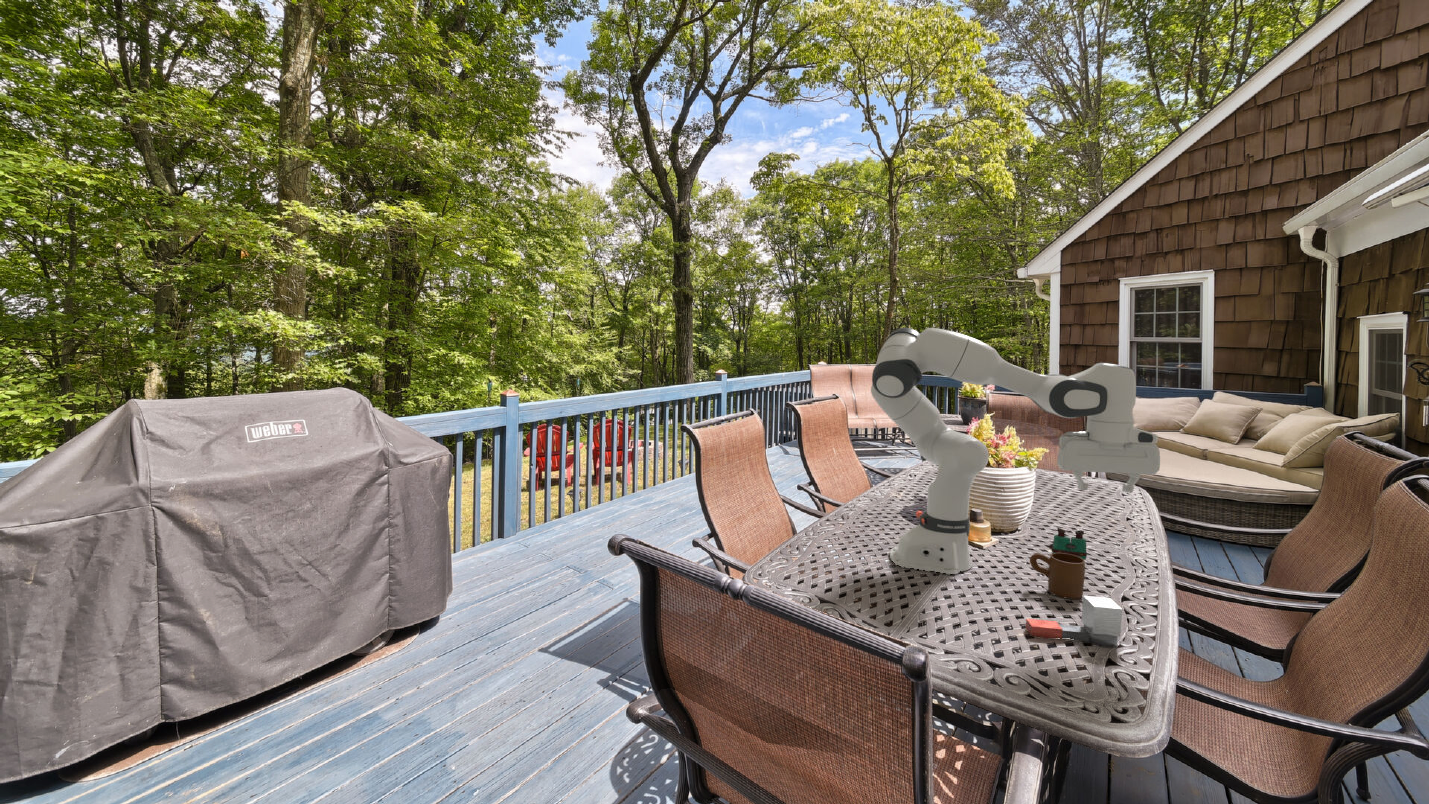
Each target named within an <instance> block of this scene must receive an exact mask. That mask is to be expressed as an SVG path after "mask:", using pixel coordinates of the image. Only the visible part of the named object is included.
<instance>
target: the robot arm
mask: <svg viewBox="0 0 1429 804" xmlns="http://www.w3.org/2000/svg"><path fill="white" fill-rule="evenodd" d="M926 372H933V373H936V374H939V375H942V376H945V377H947V378H950V379H952V380H956V381H958V382H962V383H967V384H969V385H976V386H983V385H990V386H998V387H1001V388H1003V389H1006V390H1009V391H1012V392H1014V393H1017V394H1019V395H1022V396H1024V397H1027V398H1029V399H1030V400H1031V401H1032V402H1033V403H1034V404H1035V405H1036V406H1037V407H1038V408H1040V409H1041V410H1042V411H1044V412H1046V413H1048V414H1053V415H1055V416H1058V417H1062V418H1066V419H1076V418H1083V417H1087V419H1086V420H1087V421H1086V431H1066V433H1063V434H1061V435H1060V436H1059V438H1058V446H1059V449H1058V454H1057V459H1056V465H1057V467H1058V468H1059V469H1061V470H1062V471H1065V472H1067V471H1068V472H1072V474H1073V476H1074V478H1075V481H1077V490H1080V491H1087V490H1089V488H1088V486H1089V483H1088V482H1086V481H1085V480H1083V478H1082V477H1083V476H1084V474H1085V472H1086V473H1088V472H1089V473H1111V474H1128V477H1129V479H1128V480H1127V481H1126V483H1124V482H1123V483H1122V487H1121V490H1122V492H1124V493H1133V492H1134V486H1135V485H1136V484H1137V483H1138V482H1139V480H1140V479H1141V475H1156V474H1157V473H1158V472H1159V471H1160V467H1161V455H1160V448H1159V447H1158V445H1157V443H1158V442H1159V436H1158V435H1157V434H1155V433H1153V432H1151V431H1150V432H1149V431H1147V430H1143V429H1142V428H1139V427H1135V426H1134V424H1135V423H1134V422H1135V420H1134V419H1135V418H1134V415H1133V411H1134V407H1135V404H1136V401H1137V399H1136V397H1137V396H1136V395H1137V383H1136V382H1137V381H1136V375H1135V372H1134V371H1133V369H1131V368H1130V367H1128V366H1125V365H1120V364H1114V363H1108V362H1097V363H1095V364H1093V366H1091V367H1089V368H1087V369H1085V370H1083V371H1080V372H1077V373H1075V374H1071V375H1069V376H1067V375H1065V374H1056V373H1055V374H1051V373H1050V374H1042V373H1041V374H1040V373H1037V372H1034V371H1031V370H1029V369H1025V368H1023V367H1020V366H1018V365H1014V364H1012V363H1011V362H1008V361H1007V360H1005V359H1004V358H1002V356H1001V355H1000V354H999V353H998V351H997V350H996V349H995V348H994V347H992V346H991V345H989V344H988V343H985V342H984V341H981V340H979V339H976V338H974V337H971V336H969V335H966V334H963V333H961V332H956V331H953V330H948V329H943V328H936V327H929V328H925V329H924V330H923V331H921V332H920V333H919V331H917V330H915V329H913V328H911V327H910V328H909V327H900V328H897V329H895V330H893V331H892V332H891V333H890V334H889V335H888V336H887V338H886V339H885V341H884V344H883V345H882V347H881V349H880V350H879V353H878V356H877V360H876V363H875V366H874V368H873V370H872V374H871V375H872V376H871V382H872V383H871V388H870V393H871V396H872V398H874V401H875V402H876V404H877V405H878V406H879V407H880V408H881V410H882V411H883V412H884V413H885V414H886V416H887V417H889V418H890V419H891V420H892V422H894V424H896V425H897V426H898V428H900V430H901V431H902V432H904V433H905V434H906V435H907V437H908V438H909V439H910V441H911V442H912V443H913V445H914V446H915V448H916V450H917V453H918V454H919V455H920V456H921V457H923V458H924V459H925V460H926V461H928V462H929V463H931V464H934V465H935V466H936V465H937V473H936V476H935V479H934V481H933V482H932V483H930V485H928V487H927V500H926V501H927V502H926V512H925V511H924V513H923V511H922V510H917V511H916V512H915V516H916V518H917V519H918V522H919V524H917V525H916V526H914V527H912V528H910V529H909V530H906V531H905V532H904V533H902V534H901V536H900V538H899V540H898V544H897V546H894V547H892V548H891V549H890V552H889V558H890V560H891V562H892V561H893V562H894V563H895V564H894V563H893V562H892V563H893V564H894V565H896V566H897V565H899V566H901V567H900V568H904V567H905V568H904V569H910V568H914V569H913V570H917V569H919V571H923V570H925V572H930V571H935V572H934V573H936V572H940V573H939V574H943V573H946V574H945V575H950V574H955V575H957V574H959V573H961V572H966V571H968V570H971V568H972V567H973V564H972V560H971V556H970V549H969V547H970V546H969V536H970V535H969V534H970V532H971V531H970V530H971V529H970V528H971V523H970V522H971V521H970V517H969V505H970V495H971V489H972V485H973V483H974V480H976V477H977V475H978V474H979V473H981V472H982V471H983V470H984V469H985V468H986V466H987V464H988V463H989V459H990V458H989V456H990V455H989V449H988V447H987V446H986V444H984V443H983V442H982V441H980V440H979V439H977V438H976V437H974V436H973V435H971V434H966V433H963V432H959V431H957V430H954V429H952V428H950V427H949V426H948V425H947V424H946V423H945V422H944V420H943V419H942V418H941V412H940V410H939V408H938V407H936V405H935V404H934V403H933V402H932V401H931V400H929V398H928V397H926V395H925V394H924V393H923V392H922V391H921V390H920V389H919V388H917V386H916V385H918V383H919V382H921V381H922V379H923V373H926ZM899 566H898V567H899ZM960 571H961V572H960Z"/></svg>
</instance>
